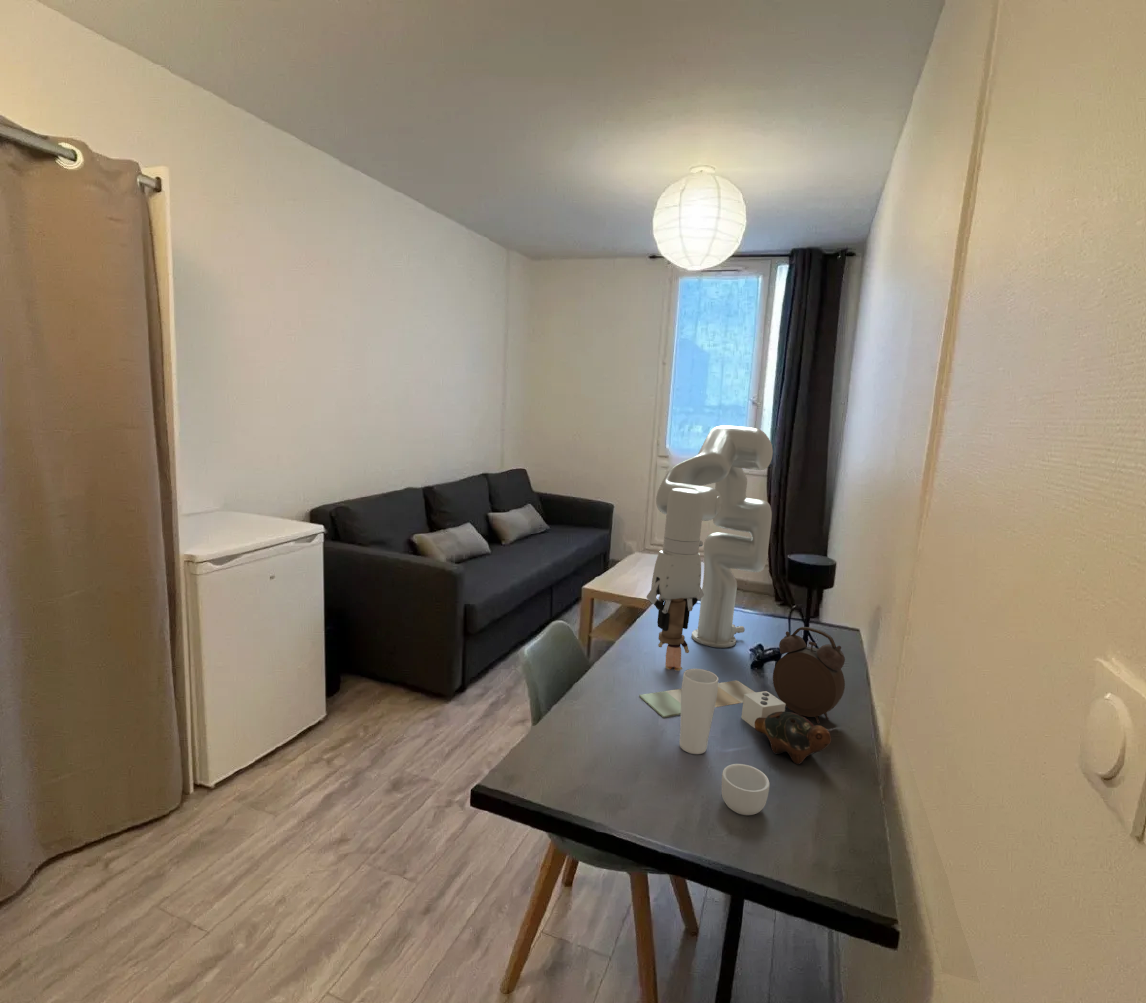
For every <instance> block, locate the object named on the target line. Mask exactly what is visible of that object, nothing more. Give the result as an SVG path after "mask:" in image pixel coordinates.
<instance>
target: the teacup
mask: <svg viewBox="0 0 1146 1003" xmlns="http://www.w3.org/2000/svg"><path fill="white" fill-rule="evenodd" d="M770 785H771V784H770V780H769V778H768V776H767V775H766V774H765V773H764V772H763V771H761V770H760V769H758V768H756V767H754V766H752V765H748V764H743V763H733V764H729V765H726V767H724V769H723V770H722V774H721V797H722V799H723V801H724V803H725V804H726V806H727V807H728V808H729V809H730V810H731V811H733V812H734V813H737V814H739V815H742V816H753V815H755V814H759V813H760V812H761V811H762V810H763V809H764V807H765V806H766V804H767V801H768V797H769V793H770Z"/></svg>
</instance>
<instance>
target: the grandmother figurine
mask: <svg viewBox="0 0 1146 1003" xmlns="http://www.w3.org/2000/svg"><path fill="white" fill-rule="evenodd" d="M664 644H666V643H663V642H661V641H660V640H659V643H658V645H657V646H658V648H662V647H663V645H664ZM681 646H682V647H681ZM682 648H683V650H684V653H686V654H689V653H690V650H689V646H688V643H687V642H686V639H684V643H683V644H680V645H671V644H667V646H666V652H665V669H666V670H671V669H673V668H674V669H673V670H675V671H677V672H678V671H679V672H680V671H681V670H683V668H682Z"/></svg>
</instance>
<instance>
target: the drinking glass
mask: <svg viewBox="0 0 1146 1003" xmlns="http://www.w3.org/2000/svg"><path fill="white" fill-rule="evenodd" d="M718 683H719V677H718V676H717V674H715V673H714V672H712V671H709V670H708V669H702V668H688V669H687V670H684V671H683V674H682V681H681V688H680V689H681V715H680V720H679V721H680V725H679V726H680V728H679V730H680V731H679V741H678V743H679V747H680V748H681V750H683V751H684V752H686V753H688V754H691V755H701V754H704V753H706V751H707V748H708V741H709V738H710V737H709V736H710V731H711V728H712V721H713V719H714V718H713V716H714V712H715V708H716V707H715V704H716V699H717V692H718Z"/></svg>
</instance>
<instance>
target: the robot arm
mask: <svg viewBox="0 0 1146 1003" xmlns="http://www.w3.org/2000/svg"><path fill="white" fill-rule="evenodd" d="M773 454H774V452H773V445H772V441H771V440H770V438H769V436H767V434H766V433H765V432H764V431H763V430H761V429H759V428H756V427H751V426H748V427H747V426H739V425H738V426H737V425H726V424H725V425H718V426H715V427H713V428H712V429H711V430H710V431H709V433H708V434H707V436H706V438H705V440H704V441H703V443H702V445H701V447H700V450H699V452H698V453H697V455H696V456H693V457H690V458H688V459H686V460H684V461H682V462H679V463H678V464H676V465H674V466H673V467H671V468H670V469H669V470H668V471H667V473H665V476H664V477H663V479H662V481H661V483H660V485H659V487H658V490H657V492H656V497H655V503H656V507H657V509H658V511H659V512H661V513H662V514H664V515H665V516H666V517H665V524H664V525H665V526H664V536H663V545H662V549H661V550H659V551H658V553H657V558H656V560H655V564H654V568H653V573H652V579H651V586H650V591H649V592H648V593H647V595H646V599H647V600H648V601H649V602H650V603H652V604H653V605H654V606H655V607H656V609H657V610H658V612H657V613H658V614H657V622H656V623H657V627H658V628H659V629H661V631H662V630H664V631H667V630H668V626H669V617H670V614H669V613H668V609H669V605H670V602H671V600H673V599H679V598H684V600H685V601H686V604H685V613H684V623H683V630H687V629H688V627H689V622H690V612H692V611H693V609H694V606H695V605H696V604H697V603H698V601H700V605H699V606H700V607H699V615H698V626H697V629H694V630H692V632H691V638H692V639H693V640H694V641H695V642H697V643H699V644H701V645H704V646H707V647H712V648H719V649H720V648H721V649H723V648H724V649H725V648H730V647H733V646H735V645H736V643H737V638H736V637H735V635H736V634H741V633H742V634H743V633H744V632H745V630H746V629H745V627H744V626H743V625H740V626H736V625H735V624H733V623H734V622H733V621H734V613H735V607H736V606H735V604H736V599H737V598H736V597H737V588H738V582H737V579H736V576H735V575H734V573H733V571H732V570H739V571H745V572H751V573H752V572H753V573H760V572H763V570H764V569H765V567H766V564H767V560H768V554H769V546H770V545H769V544H770V537H771V536H770V535H771V530H772V529H771V526H772V515H773V512H772V507H771V505H770V503H769V502H768V501H766V500H764V499H758V498H751V497H747V487H748V477H747V476H746V473H745V471H744V470H745V469H748V470H754V471H763V470H765V469H767V468H768V467H770V464H771V463H772V459H773ZM714 483H715V487H711V486H706V485H711V484H714ZM705 521H712V522H713V524H714V525H715V526H716V527H718V528H720V529H725V530H731V531H734V532H735V531H737V532H743V533H749V534H750V536H747V535H746V536H745V535H739V534H735V533H729V532H728V533H727V532H712V533H710V534H709V535H707V537H706V538H705V539H704V542H703V540H701V532H702V522H705ZM700 547H703V579H702V558H701V557H702V556H701V554H700V553H699V552H700V551H699V549H700ZM701 583H702V585H701ZM701 586H702V587H701ZM658 595H659V596H658ZM657 596H658V597H657Z"/></svg>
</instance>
